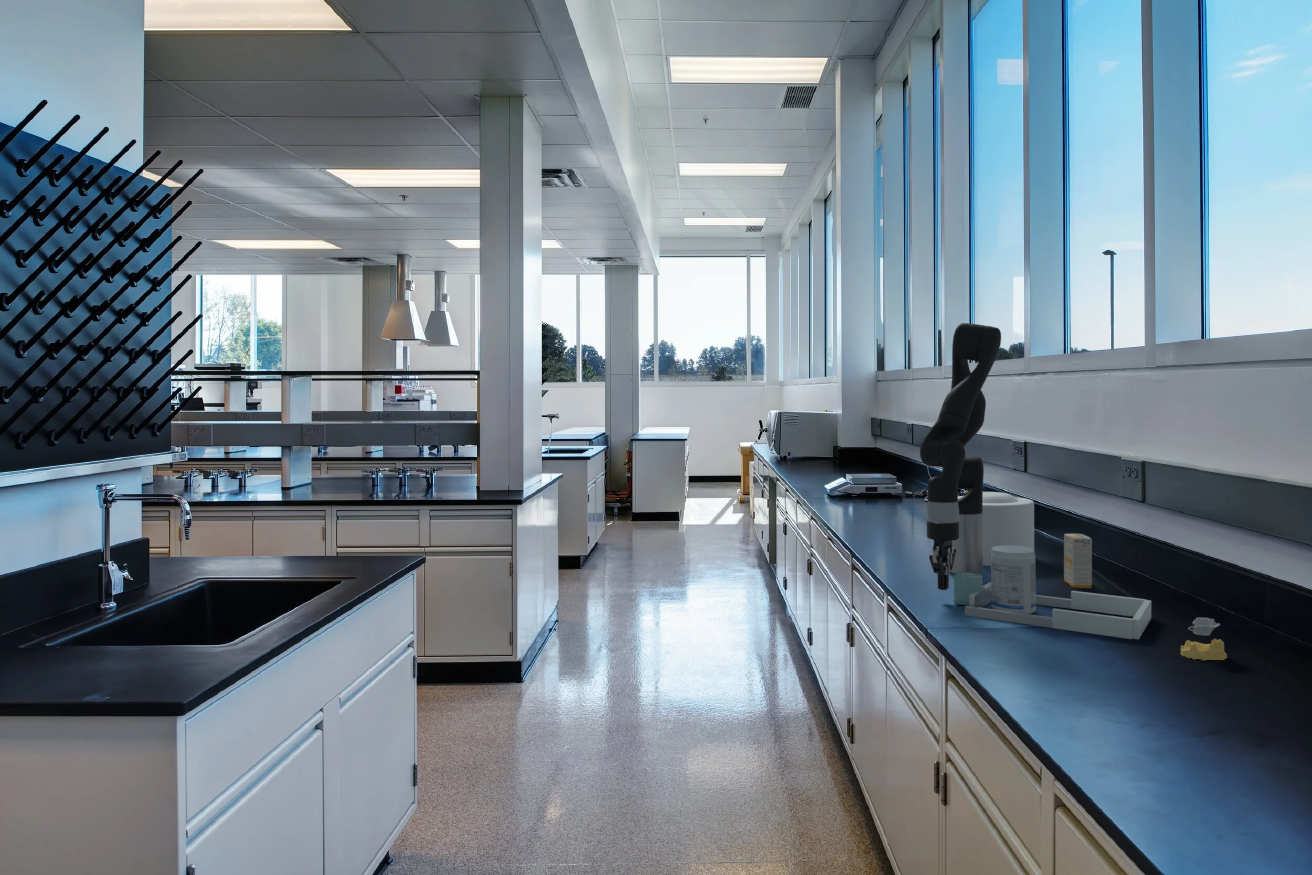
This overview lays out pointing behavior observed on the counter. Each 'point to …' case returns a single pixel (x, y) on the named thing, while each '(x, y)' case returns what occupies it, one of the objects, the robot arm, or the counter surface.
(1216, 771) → the counter surface
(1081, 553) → the supplement box
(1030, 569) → the supplement tub
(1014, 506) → the container
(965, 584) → the scraper sled
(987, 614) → the guide rails
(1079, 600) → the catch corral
